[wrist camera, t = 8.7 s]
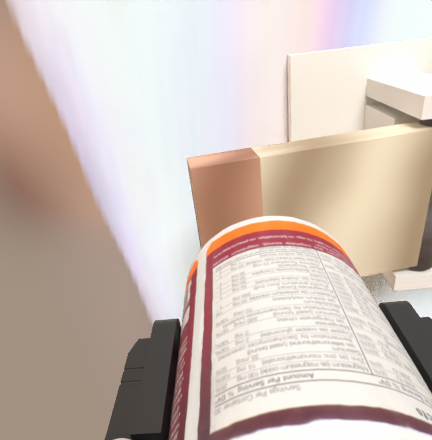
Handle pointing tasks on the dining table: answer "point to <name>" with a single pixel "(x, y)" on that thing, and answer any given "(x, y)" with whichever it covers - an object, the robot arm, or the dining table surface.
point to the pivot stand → (362, 101)
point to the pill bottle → (289, 344)
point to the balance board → (330, 191)
